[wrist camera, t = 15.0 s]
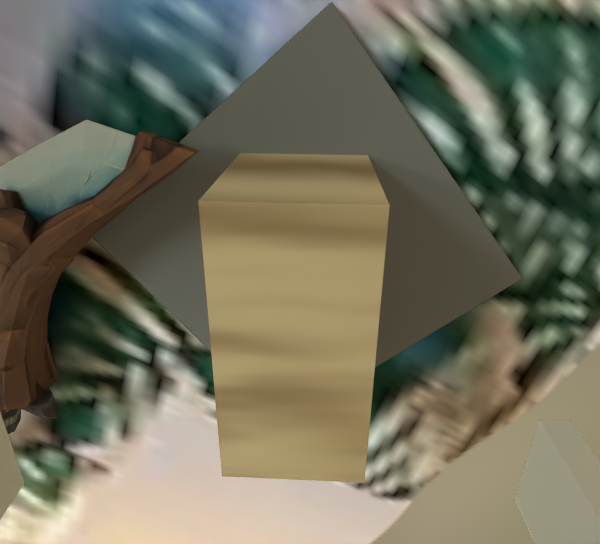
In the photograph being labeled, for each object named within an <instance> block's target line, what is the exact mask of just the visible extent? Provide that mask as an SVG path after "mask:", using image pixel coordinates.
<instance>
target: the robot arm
mask: <svg viewBox="0 0 600 544" xmlns="http://www.w3.org/2000/svg"><path fill="white" fill-rule="evenodd" d="M23 484H24V480H23V477H22V474H21V471H20V468H19V466H18V463H17V460H16V457H15V454H14V451H13V448H12V445H11V442H10V439H9V436H8V433H7V430H6V427H5V425H4V422H3V419H2V416H1V413H0V519H1V517H2V516H3V514H4V513H5V511H6V510H7V508H8V507H9V505H10V504H11V502H12V501H13V499H14V498H15V496H16V495H17V493H18V492H19V490H20V489H21V487H22V486H23ZM515 501H516V504H517V506H518V508H519V511H520V513H521V515H522V517H523V519H524V522H525V524H526V526H527V529H528V531H529V533H530V535H531V538H532V540H533V542H534V544H600V462H599V460H598V459H597V457H596V456H595V455H594V453H593V451H592V450H591V449H590V447H589V446H588V444H587V443H586V441H585V440H584V439H583V437H582V436H581V434H580V433H579V431H578V430H577V428H576V427H575V425H574V424H573V422H572V421H565V420H539V421H538V424H537V428H536V431H535V434H534V437H533V441H532V444H531V448H530V450H529V454H528V457H527V461H526V464H525V467H524V471H523V473H522V477H521V480H520V483H519V486H518V490H517V493H516V496H515Z"/></svg>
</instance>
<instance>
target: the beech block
mask: <svg viewBox="0 0 600 544" xmlns="http://www.w3.org/2000/svg"><path fill="white" fill-rule="evenodd" d="M198 203H199V215H200V226H201V238H202V250H203V261H204V273H205V284H206V296H207V308H208V319H209V331H210V342H211V354H212V365H213V377H214V389H215V400H216V412H217V423H218V435H219V446H220V458H221V470H222V476H230V477H252V478H274V479H297V480H319V481H341V482H363V483H364V481H365V470H366V459H367V448H368V437H369V426H370V415H371V404H372V393H373V382H374V371H375V360H376V349H377V338H378V327H379V316H380V305H381V295H382V284H383V273H384V262H385V251H386V240H387V229H388V218H389V207H390V205H389V202H388V200H387V198H386V196H385V193H384V191H383V189H382V186H381V184H380V182H379V179H378V177H377V175H376V173H375V170H374V168H373V166H372V163H371V161H370V159H369V157H368V155H321V154H262V153H240V154H239V155H238V156H237V157H236V158H235V159H234V161H233V162H232V163H231V164H230V165H229V166H228V167H227V169H226V170H225V171H224V172H223V173H222V174H221V176H220V177H219V178H218V179H217V180H216V181H215V182H214V184H213V185H212V186H211V187H210V188H209V189H208V190H207V192H206V193H205V194H204V195H203V196H202V197H201V199H200V200H199V201H198Z"/></svg>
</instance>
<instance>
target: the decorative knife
mask: <svg viewBox="0 0 600 544" xmlns="http://www.w3.org/2000/svg"><path fill="white" fill-rule="evenodd" d="M198 151H199V150H196V149H193V148H191V147H188V146H186V145H183V144H180V143H178V142H175V141H172V140H169V139H167V138H164V137H161V136H159V135H156V134H153V133H147V132H141V131H140V132H139V133H138V134H137V135H136V136H134V135H131V134H128V133H125V132H122V131H119V130H116V129H113V128H110V127H107V126H104V125H101V124H98V123H95V122H92V121H89V120H85V121H83V122H81V123H79V124H77V125H75V126H73V127H71V128H69V129H67V130H65V131H64V132H62V133H60V134H58V135H56V136H54V137H52V138H50V139H48V140H46V141H44V142H42V143H40V144H38V145H37V146H35V147H33V148H31V149H30V150H28V151H26V152H24V153H23V154H21V155H19V156H17V157H16V158H14V159H12V160H10V161H9V162H7V163H5V164H3V165H2V166H0V413H1V416H2V419H3V422H4V425H5V427H6V430H7V433H8V434H10V433H12V432H14V431H15V429H16V427H17V425H18V424H19V422H20V418H21V409H22V410H26V411H28V412H30V413H32V414H34V415H37V416H40V417H42V418H45V419H56V418H57V406H56V403H55V400H54V398H53V395H52V393H51V391H50V389H49V388H50V386H51V385H52V383H53V381H56V380H59V376H58V371H57V368H56V365H55V362H54V359H53V357H52V354H51V350H50V346H49V342H48V339H47V323H48V313H49V308H50V303H51V298H52V294H53V292H54V289H55V287H56V284H57V282H58V280H59V277H60V275H61V273H62V272H63V271H64V270H65V269H66V267H67V266H68V265H69V264H70V263H71V262H72V261H73V259H74V257H75V256H76V255H77V254H78V252H79V251H80V250H81V249H82V248H83V247H84V246H85V245H86V243H87V242H88V241H89V240H90V239H91V238H92V237H93V236H94V235H95V233H96V232H98V231H99V230H100V229H101V228H103V227H104V226H105V225H106V224H107V223H109V222H110V221H111V220H112V219H114V218H115V217H116V216H117V215H119V214H120V213H121V212H122V211H123V210H124V209H125V208H126V207H127V206H128V205H130V204H131V203H132V202H133V201H134V200H135V199H136V198H138V197H139V196H141V195H143V194H144V193H146V192H147V191H149V190H151V189H152V188H153V187H155V186H156V185H157V184H159V183H160V182H161V181H163V180H164V179H165V178H167V177H168V176H169V175H171V174H172V173H173V172H175V171H176V170H177V169H178V168H179V167H180V166H182V165H183V164H184V163H185V162H186V161H188V160H189V159H190V158H191V157H192V156H194V155H195V154H196V153H197V152H198Z"/></svg>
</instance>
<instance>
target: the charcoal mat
mask: <svg viewBox="0 0 600 544" xmlns="http://www.w3.org/2000/svg"><path fill="white" fill-rule="evenodd" d="M179 143H180V144H183V145H186V146H188V147H191V148H193V149H196V150H199V151H198V152H197V153H196V154H195V155H194V156H192V157H191V158H190V159H189V160H188V161H186V162H185V163H184V164H183V165H182V166H180V167H179V168H178V169H177V170H176V171H175V172H173V173H172V174H171V175H169V176H168V177H167V178H165V179H164V180H163V181H161V182H160V183H159V184H157V185H156V186H155V187H153V188H152V189H151V190H149V191H147V192H146V193H144V194H143V195H141V196H139V197H138V198H136V199H135V200H134V201H133V202H132V203H131V204H130V205H128V206H127V207H126V208H125V209H124V210H123V211H122V212H121V213H120V214H119V215H117V216H116V217H115V218H114V219H112V220H111V221H110V222H109V223H107V224H106V225H105V226H104V227H103V228H101V229H100V230H99V231H98V232H96V233H95V235H94V236H93V238H94V239H95V240H96V241H97V242H98V243H99V244H100V245H101V246H102V247H103V248H104V249H105V250H106V251H107V252H108V253H109V254H110V255H111V256H112V257H114V258H115V259H116V260H117V261H118V262H119V263H120V264H121V265H122V266H123V267H124V268H125V269H126V270H127V271H128V272H129V273H130V274H131V275H132V276H133V277H134V278H135V279H136V280H137V281H138V282H139V283H140V284H141V285H142V286H144V287H145V288H146V289H147V290H148V291H149V292H150V293H151V294H152V295H153V296H154V297H155V298H156V299H157V300H158V301H159V302H160V303H161V304H162V305H163V306H164V307H165V308H166V309H167V310H168V311H169V312H170V313H171V314H173V315H174V316H175V317H176V318H177V319H178V320H179V321H180V322H181V323H182V324H183V325H184V326H185V327H186V328H187V329H188V330H189V331H190V332H191V333H192V334H193V335H194V336H195V337H196V338H197V339H198V340H199V341H200V342H201V343H203V344H204V345H205V346H206V347H207V348H208V349H209V350H210V351H211V342H210V331H209V319H208V308H207V296H206V284H205V273H204V261H203V250H202V238H201V226H200V215H199V203H198V201H199V200H200V199H201V197H202V196H203V195H204V194H205V193H206V192H207V190H208V189H209V188H210V187H211V186H212V185H213V184H214V182H215V181H216V180H217V179H218V178H219V177H220V176H221V174H222V173H223V172H224V171H225V170H226V169H227V167H228V166H229V165H230V164H231V163H232V162H233V161H234V159H235V158H236V157H237V156H238V155H239V154H240V153H262V154H321V155H368V157H369V159H370V161H371V163H372V166H373V168H374V170H375V173H376V175H377V177H378V179H379V182H380V184H381V186H382V189H383V191H384V193H385V196H386V198H387V200H388V202H389V205H390V207H389V218H388V229H387V240H386V251H385V262H384V273H383V284H382V295H381V305H380V316H379V327H378V338H377V349H376V360H375V367H377V366H378V365H380V364H382V363H383V362H385V361H387V360H388V359H390V358H392V357H393V356H395V355H396V354H398V353H400V352H401V351H403V350H405V349H406V348H408V347H410V346H411V345H413V344H415V343H416V342H418V341H420V340H421V339H423V338H425V337H426V336H428V335H430V334H431V333H433V332H435V331H436V330H438V329H439V328H441V327H443V326H444V325H446V324H448V323H449V322H451V321H453V320H454V319H456V318H458V317H459V316H461V315H463V314H464V313H466V312H468V311H469V310H471V309H473V308H474V307H476V306H478V305H479V304H481V303H482V302H484V301H486V300H487V299H489V298H491V297H492V296H494V295H496V294H497V293H499V292H501V291H502V290H504V289H506V288H507V287H509V286H511V285H512V284H514V283H516V282H517V281H519V280H521V279H522V278H521V276H520V275H519V273H518V272H517V270H516V269H515V267H514V266H513V264H512V263H511V262H510V260H509V259H508V257H507V256H506V254H505V253H504V251H503V250H502V248H501V247H500V246H499V244H498V243H497V241H496V240H495V238H494V237H493V235H492V234H491V232H490V231H489V230H488V228H487V227H486V225H485V224H484V222H483V221H482V219H481V218H480V217H479V215H478V214H477V212H476V211H475V209H474V208H473V206H472V205H471V203H470V202H469V201H468V199H467V198H466V196H465V195H464V193H463V192H462V190H461V189H460V187H459V186H458V185H457V183H456V182H455V180H454V179H453V177H452V176H451V174H450V173H449V171H448V170H447V169H446V167H445V166H444V164H443V163H442V161H441V160H440V158H439V157H438V155H437V154H436V153H435V151H434V150H433V148H432V147H431V145H430V144H429V142H428V141H427V139H426V138H425V137H424V135H423V134H422V132H421V131H420V129H419V128H418V126H417V125H416V123H415V122H414V121H413V119H412V118H411V116H410V115H409V113H408V112H407V110H406V109H405V108H404V106H403V105H402V103H401V102H400V100H399V99H398V97H397V96H396V94H395V93H394V92H393V90H392V89H391V87H390V86H389V84H388V83H387V81H386V80H385V78H384V77H383V76H382V74H381V73H380V71H379V70H378V68H377V67H376V65H375V64H374V62H373V61H372V60H371V58H370V57H369V55H368V54H367V52H366V51H365V49H364V48H363V46H362V45H361V44H360V42H359V41H358V39H357V38H356V36H355V35H354V33H353V32H352V30H351V29H350V28H349V26H348V25H347V23H346V22H345V20H344V19H343V17H342V16H341V15H340V13H339V12H338V10H337V9H336V7H335V6H334V4H333V3H332V2H331V3H330V4H329V5H328V6H327V7H326V8H324V9H323V10H322V11H321V12H320V13H319V14H318V15H317V16H316V17H315V18H314V19H312V20H311V21H310V22H309V23H308V24H307V25H306V26H305V27H304V28H303V29H302V30H301V31H299V32H298V33H297V34H296V35H295V36H294V37H293V38H292V39H291V40H290V41H289V42H288V43H286V44H285V45H284V46H283V47H282V48H281V49H280V50H279V51H278V52H277V53H276V54H274V55H273V56H272V57H271V58H270V59H269V60H268V61H267V62H266V63H265V64H264V65H263V66H261V67H260V68H259V69H258V70H257V71H256V72H255V73H254V74H253V75H252V76H251V77H249V78H248V79H247V80H246V81H245V82H244V83H243V84H242V85H241V86H240V87H239V88H238V89H236V90H235V91H234V92H233V93H232V94H231V95H230V96H229V97H228V98H227V99H226V100H225V101H223V102H222V103H221V104H220V105H219V106H218V107H217V108H216V109H215V110H214V111H213V112H211V113H210V114H209V115H208V116H207V117H206V118H205V119H204V120H203V121H202V122H201V123H200V124H198V125H197V126H196V127H195V128H194V129H193V130H192V131H191V132H190V133H189V134H188V135H186V136H185V137H184V138H183V139H182V140H181V141H180V142H179Z"/></svg>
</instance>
